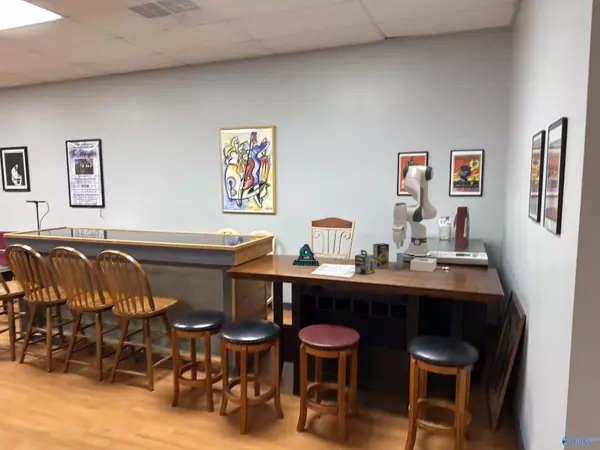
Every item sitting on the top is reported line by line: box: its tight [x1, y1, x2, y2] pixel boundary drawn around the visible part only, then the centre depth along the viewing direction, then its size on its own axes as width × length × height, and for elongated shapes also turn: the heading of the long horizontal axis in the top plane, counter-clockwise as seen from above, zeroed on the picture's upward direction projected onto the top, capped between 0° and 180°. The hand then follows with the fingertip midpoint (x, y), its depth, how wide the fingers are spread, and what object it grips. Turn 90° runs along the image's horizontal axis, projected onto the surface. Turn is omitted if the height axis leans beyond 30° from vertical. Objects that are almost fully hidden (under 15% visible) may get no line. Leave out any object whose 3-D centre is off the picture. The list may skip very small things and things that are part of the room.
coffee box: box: [372, 242, 390, 270], centre depth 280 cm, size 9×6×16 cm
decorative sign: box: [292, 243, 320, 267], centre depth 291 cm, size 19×2×15 cm, turn 76°
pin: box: [395, 252, 404, 270], centre depth 278 cm, size 4×4×10 cm
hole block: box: [409, 256, 437, 273], centre depth 275 cm, size 14×14×6 cm
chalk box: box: [354, 249, 375, 276], centre depth 266 cm, size 9×9×15 cm
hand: (399, 247), depth 276 cm, fingers open, 8 cm apart
